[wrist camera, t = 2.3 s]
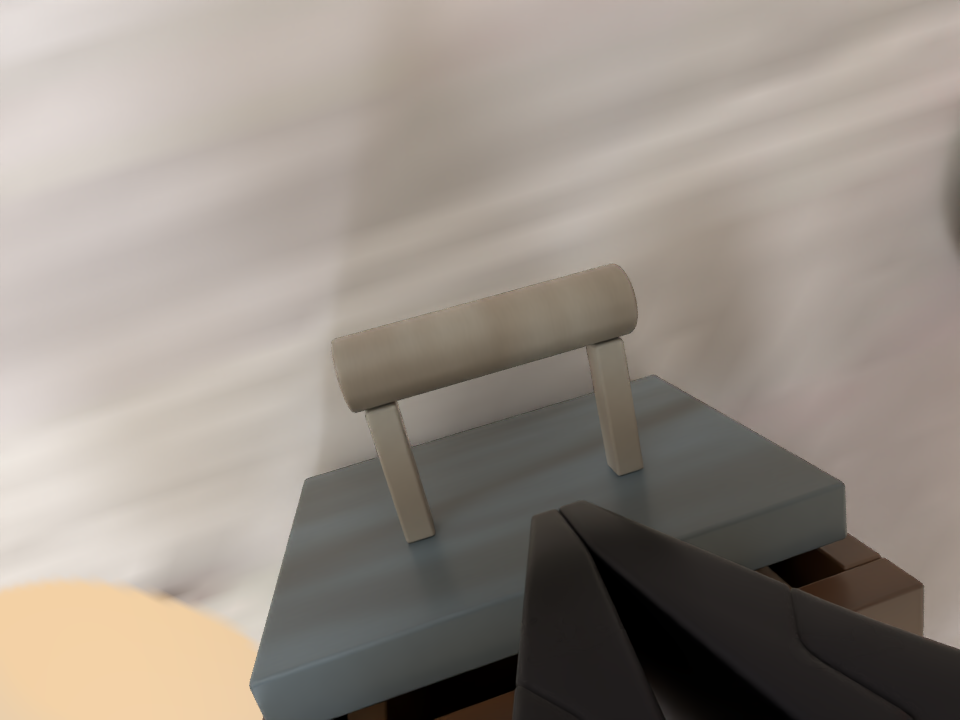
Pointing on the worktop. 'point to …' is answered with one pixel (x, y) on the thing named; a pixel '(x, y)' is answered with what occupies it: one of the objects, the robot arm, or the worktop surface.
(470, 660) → the drawer
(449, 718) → the cabinet
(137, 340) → the worktop surface
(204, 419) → the worktop surface
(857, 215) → the worktop surface
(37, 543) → the worktop surface
